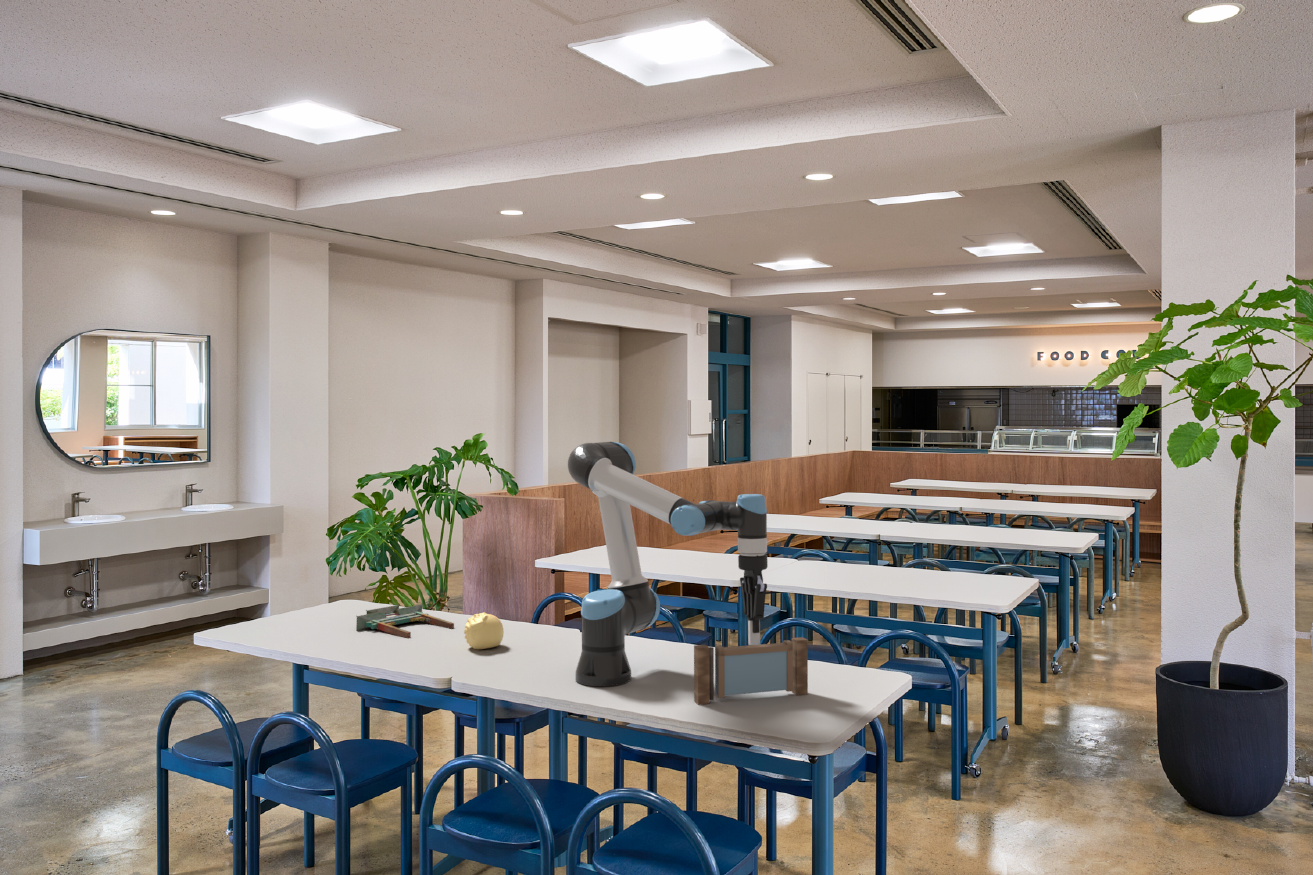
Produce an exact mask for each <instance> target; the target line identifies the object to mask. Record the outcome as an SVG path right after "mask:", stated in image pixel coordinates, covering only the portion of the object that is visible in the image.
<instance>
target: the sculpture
mask: <svg viewBox="0 0 1313 875" xmlns="http://www.w3.org/2000/svg"><path fill="white" fill-rule="evenodd" d="M504 631H505V630H504V626H503V623H502V621H501V619H499V618H498V617H497V616H495V615H493V614H491V613H490V614H489V613H486V612H485V611H484V612H481V613H480V612H479V613H475V614H473V615H472V616H471V617H469V618H467V622H466V623H465V624H464V631H463V632H464V633H463V634H464V635H465V636H464V639H465V640H466V641H465V642H466V643H467V644H468V646H469V647H471V648H472V649H474V650H486V649H490V648H496V647H498V646H500V645H501V643H502V641H503V638H504Z"/></svg>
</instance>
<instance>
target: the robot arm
mask: <svg viewBox="0 0 1313 875" xmlns="http://www.w3.org/2000/svg"><path fill="white" fill-rule="evenodd" d="M636 461H637V460H636V458H635V455H634V453H633V451H632V450H631V448H629V447H628V446H627V445H626V444H623V443H620V442H615V441H603V442H601V441H600V442H585V443H581V444H579V445H577V446H576V447H575V448H574V449H573V450H572V451H571V453H570V454H569V457H568V459H567V469H568V473H569V474H570V477H571V478H572V479H573V480H574V482H576V483H578V484H579V485H581V486H583V487H585V488H586V489H589V490H591V492H592V493H593V494H594V495H595V496H596V497H597V498H598V505H599V511H600V516H601V521H602V528H603V534H604V540H605V546H606V552H607V557H608V565H609V570H610V577H611V582H610V584H608V586H607V589H606V588H605V589H601V590H594V591H592V592H589V593H587V594H586V595H585V596H584V597H582V601H581V609H580V615H581V653H580V656H579V659H578V662H577V666H576V669H575V682H577V683H578V684H581V685H584V686H590V687H612V686H613V687H614V686H620V685H624V684H626V683H629V682H630V681H631V680H632V669H631V666H630V662H629V660H628V657H627V653H626V650H625V649H626V648H625V646H626V645H625V644H626V642H625V640H626V639H625V637H626V635H628V634H632V633H635V632H638V631H640V632H641V631H643V630H645V629H646V628H649V627H650V626H652V625H653V624H655V622H656V621H657V619H658V618H659V615H660V611H661V602H660V597H659V596H658V594H657V593H656V592H655V591H654V589H653V588H651V587H650V583H649V580H648V579H647V578H646V577H645V576H643V574H642V569H641V564H640V556H639V551H638V545H637V538H636V533H635V532H636V531H635V528H634V521H633V515H632V509H631V506H632V507H634V508H636V509H638V510H641V511H642V512H643V513H646V514H649V515H650V516H653V517H654V518H657V519H658V520H661V521H663V522H664V523H666V524H669V525H671V528H672V529H673V530H674V531H675V533H676V534H678V535H680V536H684V537H685V536H687V537H688V536H689V537H691V536H696V535H698V534H703V533H709V532H713V531H719V530H720V531H721V530H725V531H737V553H739V555H737V560H738V562H737V563H738V569H739V570H742V571H744V572H743V577H740V578H739V582H740V586H741V594H742V595H741V596H742V605H743V606H742V607H743V614H744V616H746V619H747V636H748V638H747V639H748V641H747V644H748V645H761V620H763V619H764V616H765V607H766V606H765V604H766V593H767V589H768V584H767V583H764V578H763V571H764V570H767V568H768V555H767V554H766V553H767V552H768V544H769V540H768V536H767V535H768V534H767V528H768V525H767V523H768V522H767V520H768V519H767V518H768V517H767V514H768V509H767V499H766V496H765V495H763V494H761V493H746V494H739V495H737V499H736V501H725V500H723V501H721V500H713V499H711V500H703V501H699V502H698V503H694V502H692V501H690V500H688V499H685V498H684V497H681V496H679V495H677V494H675V493H673V492H671V491H669V490H666V489H665V488H662V487H660V486H658V485H656V484H654V483H652V482H650V481H647V480H645V479H644V478H641V477H640V476H637V475H635V474H634V473H635V472H636V468H637V462H636Z"/></svg>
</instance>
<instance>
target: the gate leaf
mask: <svg viewBox="0 0 1313 875" xmlns="http://www.w3.org/2000/svg"><path fill="white" fill-rule="evenodd" d="M714 666H715V667H714V684H715V685H714V691H715V692H714V696H716V697H717V698H718V699H724V698H725V697H726V696H735V695H745V694H748V695H749V694H759V693H767V692H779V691H781V692H782V691H785V692H792V691H793V642H792V640H789V639H788V640H782V642H778V643H763V644H761V643H760V645H749V644H748V645H740V646H739V645H738V646H737V645H736V646H722V645H715V646H714Z"/></svg>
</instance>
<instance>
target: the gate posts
mask: <svg viewBox="0 0 1313 875" xmlns="http://www.w3.org/2000/svg"><path fill="white" fill-rule="evenodd" d="M808 641H809V640H808V639H806V638H805V637H803V636H802V637H792V638H791V642H793V691H791V693H792V694H794V695H795V696H806V695H808V694H809V693H808V692H809V691H808V690H809V688H808V687H809V685H808V683H809V682H808V676H809V674H808V673H809V672H808V665H809V664H808V663H809V658H808V652H809V650H808V645H809V644H808ZM693 663H694V664H693V691H694V693H693V701H694V703H696V704H697V705H698V706H699V705H700V704H701V705H708V704H707V703H711V702H710V701H714V698H715V692H714V691H715V685H714V684H715V667H714V666H715V647H713V646H708V645H706V644H697V645H696V644H695V645H693Z"/></svg>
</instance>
